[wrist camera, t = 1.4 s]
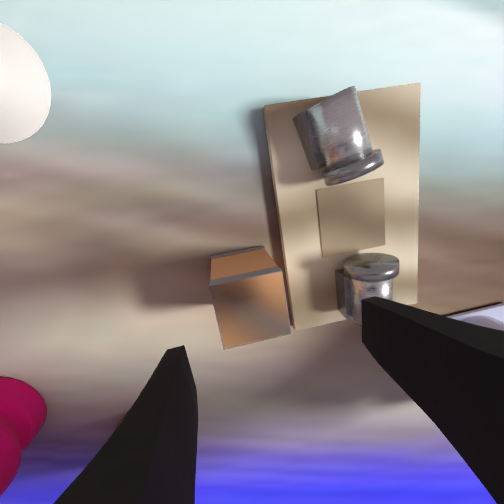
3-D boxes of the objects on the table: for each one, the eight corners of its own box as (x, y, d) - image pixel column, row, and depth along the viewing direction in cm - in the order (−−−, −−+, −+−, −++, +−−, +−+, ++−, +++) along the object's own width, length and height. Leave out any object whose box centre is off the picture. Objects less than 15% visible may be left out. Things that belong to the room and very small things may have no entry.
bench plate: (410, 299, 23) (417, 303, 22) (292, 326, 22) (295, 331, 21) (411, 86, 18) (421, 82, 18) (262, 108, 18) (265, 104, 17)
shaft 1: (354, 164, 19) (397, 159, 15) (311, 185, 19) (341, 186, 15) (334, 100, 18) (375, 71, 13) (288, 122, 18) (313, 100, 13)
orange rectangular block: (270, 293, 21) (291, 334, 15) (221, 303, 21) (223, 349, 15) (262, 245, 20) (282, 270, 14) (210, 255, 20) (209, 285, 14)
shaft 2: (371, 297, 23) (411, 326, 18) (332, 306, 22) (363, 337, 18) (369, 246, 21) (412, 263, 17) (328, 254, 21) (359, 274, 16)
